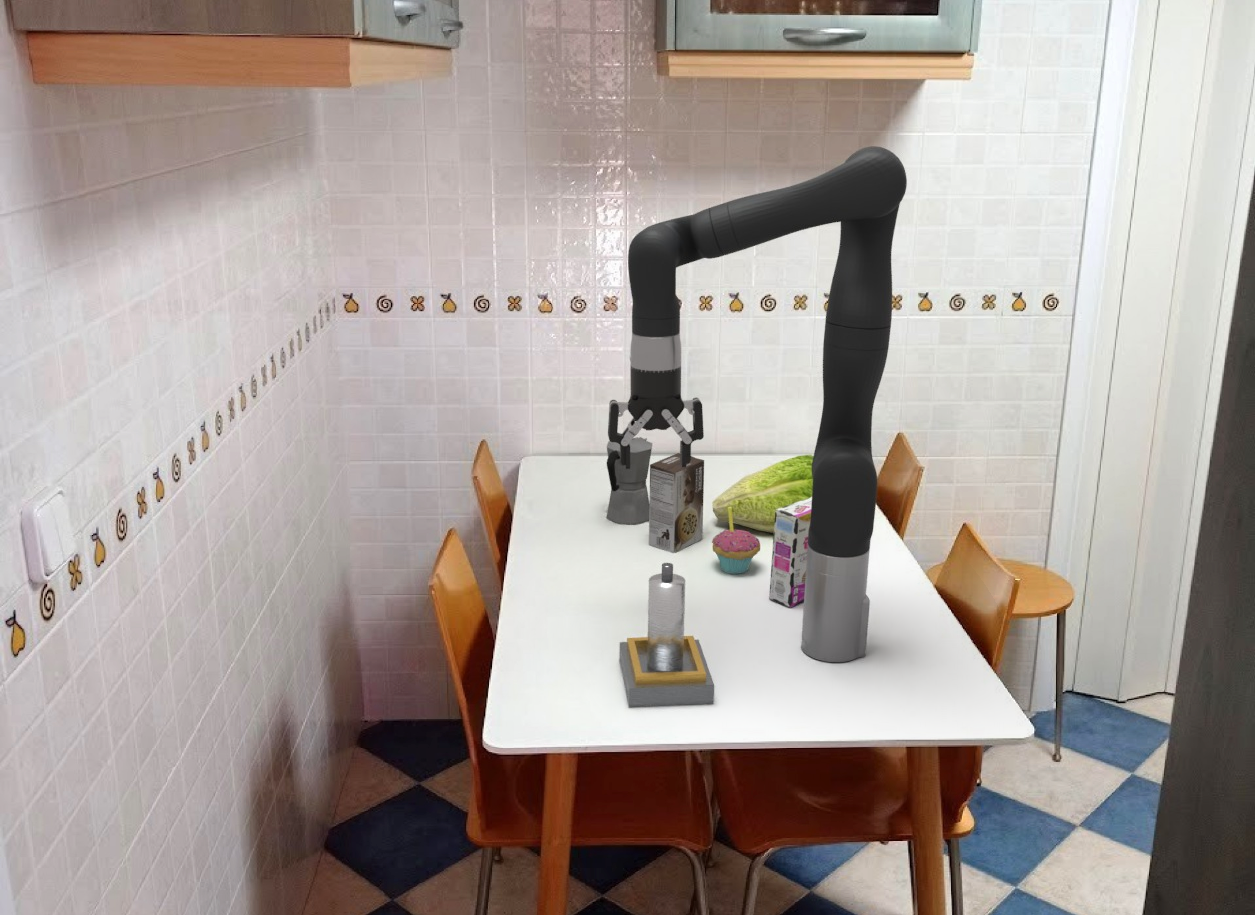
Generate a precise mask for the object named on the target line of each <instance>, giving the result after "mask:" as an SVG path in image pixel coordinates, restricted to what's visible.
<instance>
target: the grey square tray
mask: <svg viewBox="0 0 1255 915" xmlns="http://www.w3.org/2000/svg"><path fill="white" fill-rule="evenodd" d="M647 652H648V636H644V637H643V636H642V637H641V636H640V637H639V636H638V637H627V638H626V641H622V642H621V641H620V642H619V656H618V658H619V665H620V670H621V674H622V679H623V686H624V690H625V694H626V700H627V704H628V708H643V707H645V708H646V707H665V706H692V705H693V706H694V705H714V702H715V701H714V700H715V698H714V695H715V683H714V680H713V678H712V675H711V672H710V668H709V666H708V663H707V660H706V657H705V654H704V652H703V648H702V646H701V643H700V639H695V636H694V635H684V647H683V665H682V666H681V667H680V668H679V669H676V670H672V671H660V670H656V669H653V668H651V667H650V666H649V665H648V663H647Z"/></svg>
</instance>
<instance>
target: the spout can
mask: <svg viewBox="0 0 1255 915" xmlns="http://www.w3.org/2000/svg"><path fill="white" fill-rule="evenodd" d="M685 604H686V579H685V577H683V576H682V575H679V574H676V573H674V564H673V563H671V562H664V563H662V564H661V573H656V574H653V575H651V576H650V577H649V578H648V606H647V607H648V608H647V610H648V611H647V612H648V613H647V637H648V652H647V663H648V665H649V666H650V667H651V668H653V669H656V670H660V671H672V670H676V669H679V668H680V667H681V666H682V665H683V647H684V636H685V607H686V605H685Z"/></svg>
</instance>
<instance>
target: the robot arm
mask: <svg viewBox="0 0 1255 915" xmlns="http://www.w3.org/2000/svg"><path fill="white" fill-rule="evenodd" d="M907 181H908V180H907V173H906V169H905V167H904V165H903V163H902V161H901V159H900V158H899V157H898V156H897V155H896V154H895V153H894V152H893V151H891V150H889V149H888V148H886V147H885V148H884V147H882V146H876V145H874V146H872V145H871V146H867V147H863V148H861V149H859V150H856V151H855V152H854V153H852V154H851V155H850V156H849V157H848V158H847V159H846V160H845V162H844V163H842V164H839V165H838V166H836V167H834V168H831V169H830V170H828V171H826V172H824V173H822V174H820V175H818V176H815V177H812V178H811V179H808V180H804V181H802V182H800V183H796V184H793V185H789V186H786V187H781V188H779V189H773V190H769V191H768V190H767V191H765V192H758V193H754V194H751V195H747V196H742V197H739V198H736V199H733V200H732V199H731V200H729V201H726V202H723V203H721V204H720V203H719V204H716V205H714V206H711V207H708V208H705V209H703V210H701V211H698V212H696V213H693V214H690V215H684V216H680V217H676V218H671V219H668V220H664V221H661V222H658V223H654V224H652V225H649V226H647V227H645V228H644V229H643V230H641V231H640V232H638V233H637V234H636V235H635V236H633V237H632V240H631V241H630V245H629V247H628V255H627V269H628V278H629V285H630V293H631V298H632V307H631V341H630V349H629V350H630V351H629V361H630V366H629V367H630V369H629V370H630V377H629V378H630V395H629V396H630V397H629V400H628V401H627V402H625V401H617V400H616V399H611V400H610V401H609V406H608V421H607V422H608V425H607V437H608V441H610V442H616V443H618V444H620V461H621V464H622V465H625V469H630V444H629V443H630V442H631V440H632V439H633V438H635V437H636V436H637V435H638V434H639V433H640V431H641V430H642V429H644V430H645V431H653V430H660V431H667V430H668V429H669V428H672V429H673V431H674V432H675V433H676V434H677V435H678V436H679V438H680V439H681V440H680V442H679V444H680V446H679V453H680V465H681V467H686V464H689V463H690V461H691V456H692V443H693V442H695V441H700V440H703V439H704V436H705V435H704V415H703V403H702V401H701V400H700V398H698V397H693V398H692V399H687V400H683V398H682V342H681V334H680V331H681V316H680V315H681V306H680V300H679V297H678V296H677V294H676V293H677V289H676V288H677V284H676V283H677V279H676V278H677V277H676V276H677V268H679V267H681V266H684V265H687V264H691V263H693V262H697V261H700V260H703V259H709V260H710V259H715V258H720V257H724V256H728V255H730V254H734V253H737V252H740V251H742V250H743V251H744V250H747V249H750V248H752V247H756V246H759V245H762V244H765V243H767V242H770V241H773V240H775V239H778V238H781V237H784V236H788V235H790V234H793V233H797V232H800V231H804V230H808V229H812V228H816V227H821V226H824V225H829V224H834V223H840V234H839V236H840V238H839V248H838V253H837V259H836V262H835V267H834V270H833V271H834V272H833V274H832V280H831V284H830V288H829V290H830V291H829V295H828V299H827V300H828V301H827V305H826V306H827V307H826V312H825V322H824V323H825V324H824V331H823V332H824V333H823V334H824V335H823V347H822V391H823V392H822V393H823V396H822V397H823V404H822V412H821V417H820V424H819V429H818V430H819V431H818V435H817V439H816V444H815V447H814V453H813V455H812V456H813V461H812V477H813V489H812V505H811V520H810V526H809V531H808V547H807V563H806V578H805V594H804V601H803V612H802V627H801V641H800V644H801V645H800V647H801V650H802V652H804V653H805V654H806V656H809V657H811V658H813V659H816V660H817V661H818V660H819V661H822V662H827V663H828V662H829V663H844V662H850V661H853V660H855V659H857V658H860V657H861V658H862V657H863V658H864V657H866V652H867V640H868V628H869V617H870V604H871V603H870V602H871V601H870V600H871V599H870V598H869V597H868V595H867V587H868V586H867V585H868V574H869V563H870V562H869V561H870V550H871V540H872V536H873V533H874V527H875V525H874V524H875V515H876V505H877V495H878V473H877V470H876V467H875V462H874V460H873V452H872V451H873V449H872V448H873V446H872V425H873V412H874V411H873V410H874V405H875V400H876V398H877V393H878V390H879V388H880V385H881V382H882V381H881V380H882V378H883V374H884V371H885V368H886V363H887V359H888V352H889V347H890V337H891V327H892V316H893V277H892V276H893V274H892V273H893V271H892V248H893V240H894V235H895V234H894V233H895V230H896V223H897V217H898V215H899V214H898V213H899V210H900V206H901V202H902V201H903V200H904V196H905V195H906V191H907V186H908V182H907ZM684 409H686V410H687V411H688V414H689V415H691V416H692V426H693V430H690V431H688V430H687V429H686V428H685V427H684V425H683V424H682V423H681V422H680V420H679V416H680V415H681V414H682V412H683V411H684ZM625 411H628V413H629V414H630V415H631V416H632V418H631V420H630V421H629V422H628V424H627V426H626V428H625V429H624V430H623V432H622V433H621V432H619V431H618V429H619V428H618V426H619V418H621V417H622V416H623V415H624V413H625Z"/></svg>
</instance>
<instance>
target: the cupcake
mask: <svg viewBox="0 0 1255 915" xmlns="http://www.w3.org/2000/svg"><path fill="white" fill-rule="evenodd" d="M728 504H729V507H728V514H729V522H728V523H729V524H728V525H729V529H725V530H723V531H719V533H718V534H716V535H715V536H714V537H713V538H712V539H711V543H712V552H714V553H715V554H716V556H717V558H718V562H719V564H720V568H721V570H722V571H723V572H725V573H729V574H733V575H735V574H737V575H738V574H742V573H745V572H747V571H748V570H749V567H750V564H751V562H752V560H753V558H754V556H756V555H757V554H758V553H759V552H760V551H761V542H760V540H759V538H758V537H756V536H755V535H754V534H752V533H751V532H749V531H748V530H747V531H746V530H745V529H736V528H735V529H734V523H733V518H732V507H730V503H728Z"/></svg>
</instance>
